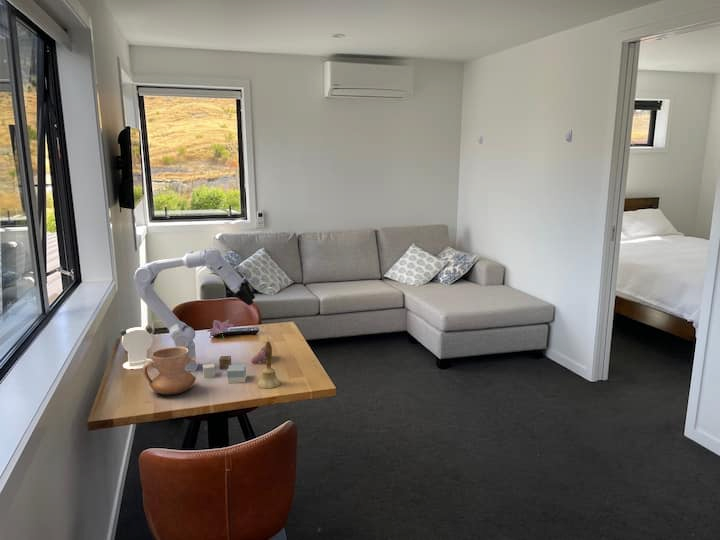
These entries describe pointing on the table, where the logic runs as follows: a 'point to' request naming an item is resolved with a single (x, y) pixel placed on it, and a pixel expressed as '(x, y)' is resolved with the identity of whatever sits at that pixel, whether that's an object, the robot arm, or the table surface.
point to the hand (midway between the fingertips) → (252, 301)
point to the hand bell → (268, 371)
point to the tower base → (237, 379)
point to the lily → (219, 327)
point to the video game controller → (259, 356)
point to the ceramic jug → (170, 371)
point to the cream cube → (209, 370)
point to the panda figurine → (137, 346)
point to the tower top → (236, 371)
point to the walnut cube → (224, 362)
